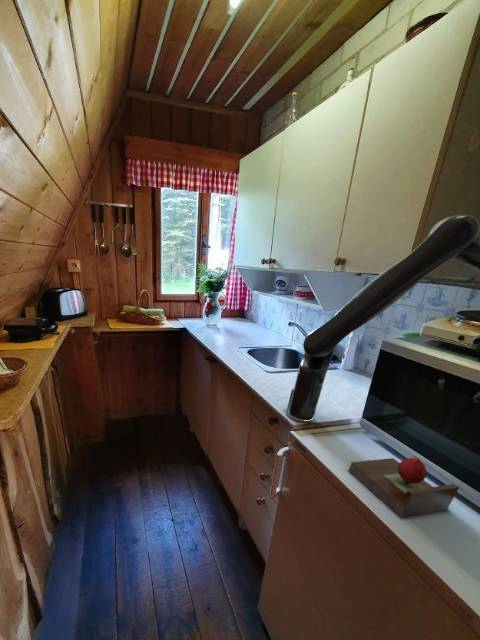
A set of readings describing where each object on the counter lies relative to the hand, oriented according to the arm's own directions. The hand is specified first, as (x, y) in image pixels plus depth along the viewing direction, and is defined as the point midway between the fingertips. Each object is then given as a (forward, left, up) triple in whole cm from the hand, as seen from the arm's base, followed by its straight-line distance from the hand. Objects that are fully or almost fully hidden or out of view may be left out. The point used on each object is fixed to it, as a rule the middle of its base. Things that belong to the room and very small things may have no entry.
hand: (456, 393), depth 77 cm
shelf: (+3, -12, -26) cm, 29 cm away
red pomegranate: (+5, -11, -23) cm, 26 cm away
